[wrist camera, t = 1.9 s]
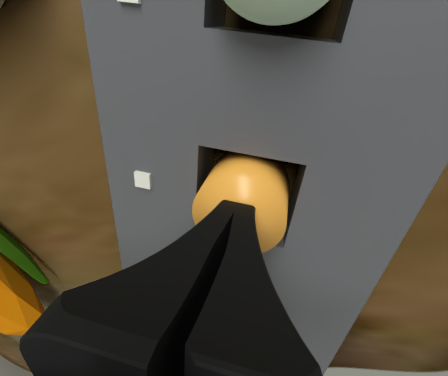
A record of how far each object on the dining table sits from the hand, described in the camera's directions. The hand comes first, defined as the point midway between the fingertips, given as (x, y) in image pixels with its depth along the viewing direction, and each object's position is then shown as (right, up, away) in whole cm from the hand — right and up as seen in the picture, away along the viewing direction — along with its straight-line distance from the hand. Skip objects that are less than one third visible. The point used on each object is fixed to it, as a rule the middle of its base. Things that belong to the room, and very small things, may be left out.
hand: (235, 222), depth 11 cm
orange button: (+1, +2, +3) cm, 3 cm away
